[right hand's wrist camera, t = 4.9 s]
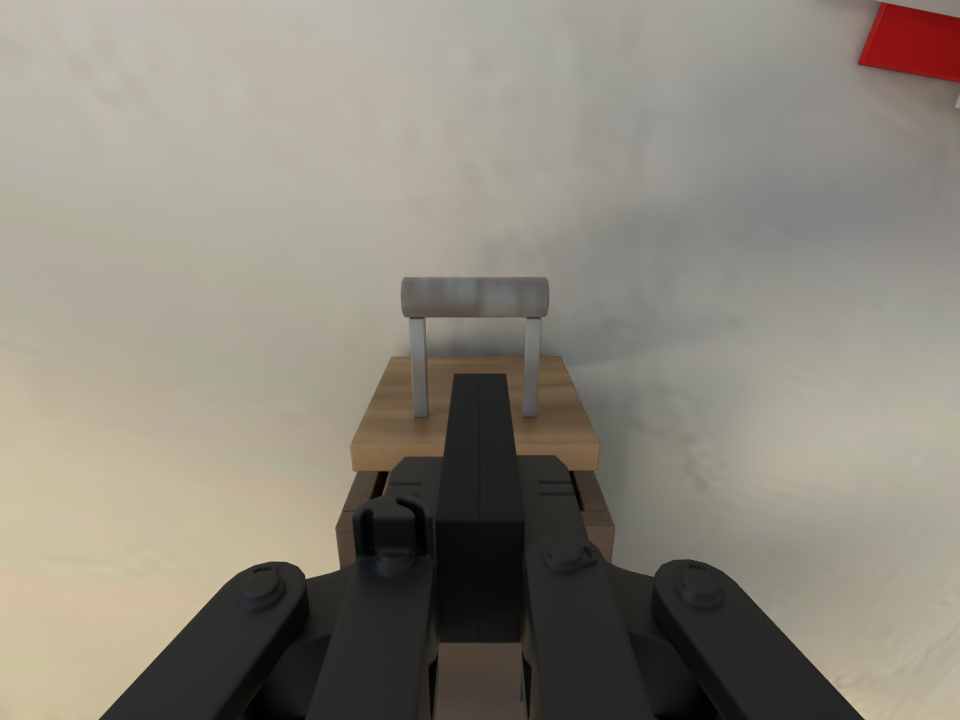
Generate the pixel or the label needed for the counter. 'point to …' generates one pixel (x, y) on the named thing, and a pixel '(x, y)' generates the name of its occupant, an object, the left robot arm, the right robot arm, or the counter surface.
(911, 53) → the toy
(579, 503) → the cabinet
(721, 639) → the right robot arm
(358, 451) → the drawer
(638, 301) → the counter surface
